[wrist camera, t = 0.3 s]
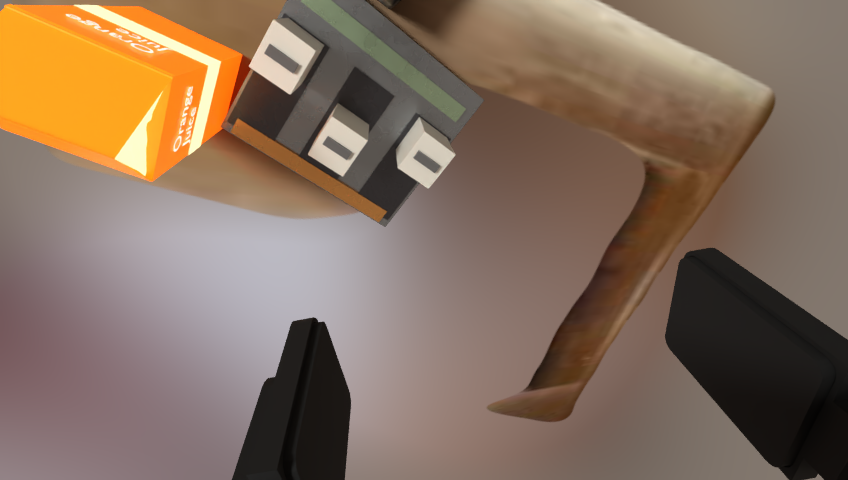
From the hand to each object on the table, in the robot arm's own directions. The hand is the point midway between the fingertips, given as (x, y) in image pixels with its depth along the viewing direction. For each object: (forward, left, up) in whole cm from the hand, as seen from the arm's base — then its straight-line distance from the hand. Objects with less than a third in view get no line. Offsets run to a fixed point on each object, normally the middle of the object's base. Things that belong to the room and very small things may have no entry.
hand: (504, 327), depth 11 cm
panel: (-4, -5, -35) cm, 35 cm away
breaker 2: (+3, -3, -32) cm, 33 cm away
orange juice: (-18, -11, -35) cm, 41 cm away
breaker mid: (-4, -7, -32) cm, 33 cm away
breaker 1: (-11, -3, -32) cm, 34 cm away
